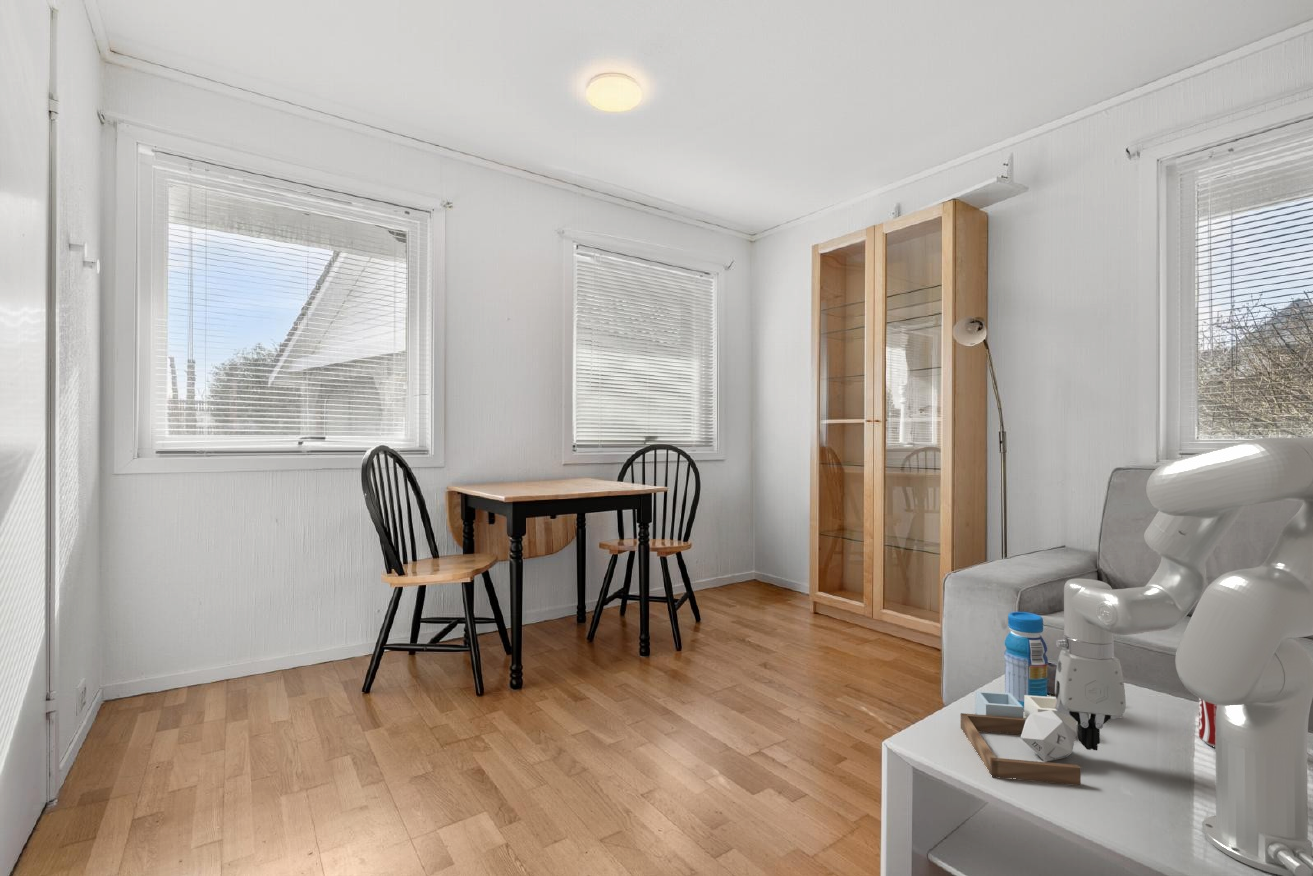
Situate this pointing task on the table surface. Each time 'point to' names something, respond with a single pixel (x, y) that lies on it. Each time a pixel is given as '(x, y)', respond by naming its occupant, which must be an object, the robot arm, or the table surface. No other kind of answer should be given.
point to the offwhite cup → (1046, 709)
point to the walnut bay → (1012, 766)
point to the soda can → (1207, 722)
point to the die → (1048, 735)
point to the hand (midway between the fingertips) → (1088, 746)
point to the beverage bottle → (1025, 657)
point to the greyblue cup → (997, 704)
